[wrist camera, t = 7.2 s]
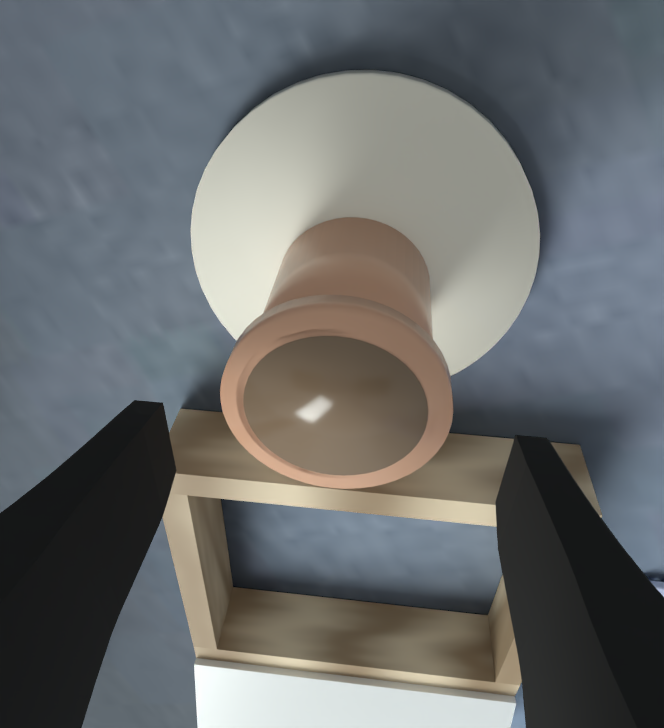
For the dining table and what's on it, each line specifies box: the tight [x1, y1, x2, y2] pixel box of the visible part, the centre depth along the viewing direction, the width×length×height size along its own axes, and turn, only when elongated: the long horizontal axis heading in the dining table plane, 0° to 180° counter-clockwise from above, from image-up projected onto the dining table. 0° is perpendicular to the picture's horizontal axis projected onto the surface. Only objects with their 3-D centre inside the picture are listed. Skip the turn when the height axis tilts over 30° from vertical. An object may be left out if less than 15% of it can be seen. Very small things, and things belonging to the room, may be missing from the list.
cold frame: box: [163, 409, 602, 728], centre depth 30 cm, size 16×28×8 cm, turn 178°
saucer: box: [191, 70, 540, 376], centre depth 19 cm, size 11×11×1 cm
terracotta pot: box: [220, 217, 453, 489], centre depth 17 cm, size 6×6×6 cm
